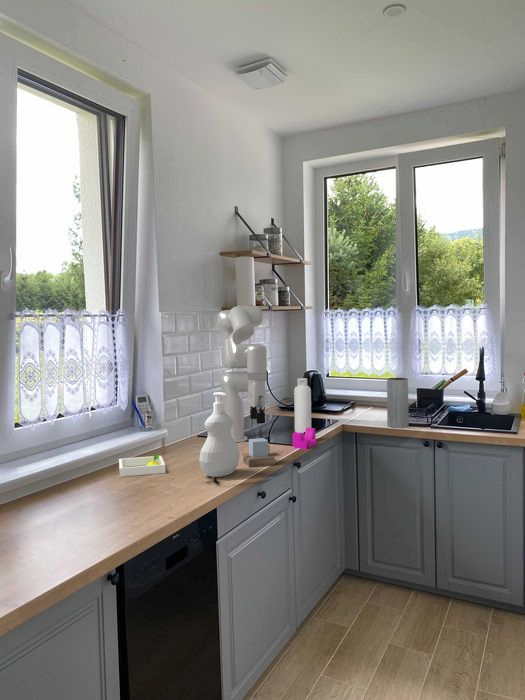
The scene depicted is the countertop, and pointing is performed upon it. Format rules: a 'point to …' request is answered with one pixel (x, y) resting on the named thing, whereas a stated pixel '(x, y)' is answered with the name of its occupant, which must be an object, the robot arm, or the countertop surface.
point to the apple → (153, 461)
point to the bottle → (302, 406)
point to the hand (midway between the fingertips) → (257, 421)
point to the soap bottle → (219, 443)
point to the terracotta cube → (269, 448)
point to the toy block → (304, 439)
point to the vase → (397, 403)
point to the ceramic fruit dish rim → (140, 469)
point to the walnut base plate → (258, 460)
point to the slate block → (258, 447)
